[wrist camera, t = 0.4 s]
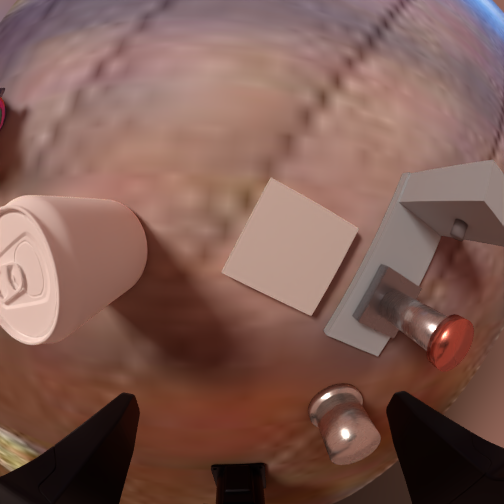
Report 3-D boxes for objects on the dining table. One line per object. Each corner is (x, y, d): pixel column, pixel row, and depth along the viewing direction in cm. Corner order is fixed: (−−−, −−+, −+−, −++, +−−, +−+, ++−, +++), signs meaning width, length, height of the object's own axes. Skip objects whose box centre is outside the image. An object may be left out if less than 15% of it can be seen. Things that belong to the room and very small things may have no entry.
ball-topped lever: (386, 332, 22) (449, 387, 12) (351, 315, 21) (413, 375, 12) (413, 284, 21) (488, 320, 12) (380, 263, 21) (459, 295, 11)
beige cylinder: (163, 278, 22) (95, 342, 10) (90, 302, 22) (7, 359, 10) (133, 185, 20) (40, 164, 9) (62, 219, 20) (-36, 229, 9)
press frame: (373, 351, 24) (433, 417, 13) (217, 280, 22) (197, 342, 11) (444, 209, 22) (529, 214, 11) (307, 109, 20) (357, 40, 9)
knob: (355, 417, 25) (378, 457, 18) (306, 427, 25) (321, 472, 18) (362, 378, 24) (392, 419, 17) (309, 388, 24) (328, 436, 17)
